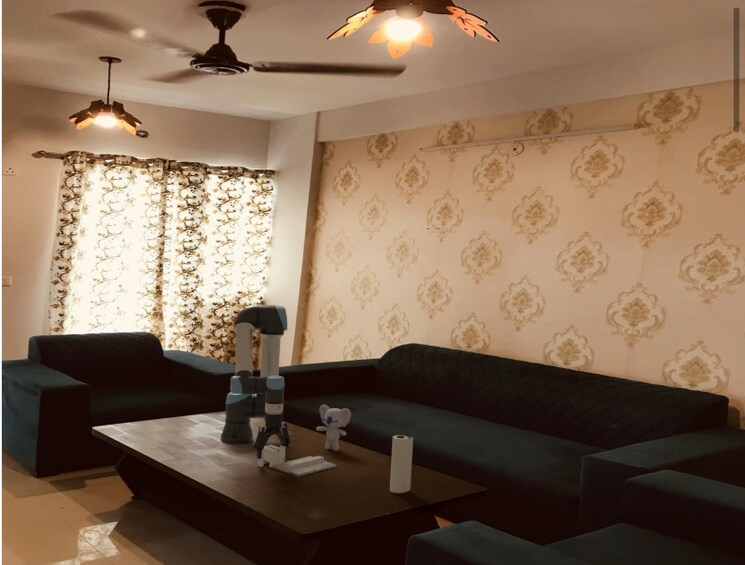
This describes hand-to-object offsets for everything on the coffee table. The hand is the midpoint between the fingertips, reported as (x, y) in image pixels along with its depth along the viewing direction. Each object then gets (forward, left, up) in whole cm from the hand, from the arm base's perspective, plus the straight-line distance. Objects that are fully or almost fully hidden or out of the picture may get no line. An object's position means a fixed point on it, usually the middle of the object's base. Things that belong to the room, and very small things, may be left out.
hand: (271, 463), depth 307 cm
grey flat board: (+12, +8, 0) cm, 14 cm away
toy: (0, +37, 0) cm, 37 cm away
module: (0, 0, 0) cm, 0 cm away
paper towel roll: (+58, +15, 0) cm, 60 cm away
